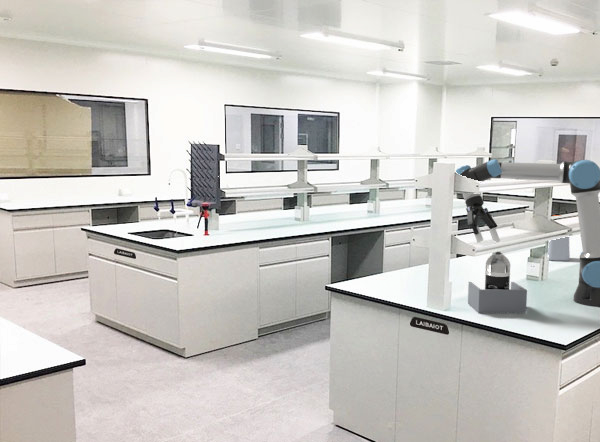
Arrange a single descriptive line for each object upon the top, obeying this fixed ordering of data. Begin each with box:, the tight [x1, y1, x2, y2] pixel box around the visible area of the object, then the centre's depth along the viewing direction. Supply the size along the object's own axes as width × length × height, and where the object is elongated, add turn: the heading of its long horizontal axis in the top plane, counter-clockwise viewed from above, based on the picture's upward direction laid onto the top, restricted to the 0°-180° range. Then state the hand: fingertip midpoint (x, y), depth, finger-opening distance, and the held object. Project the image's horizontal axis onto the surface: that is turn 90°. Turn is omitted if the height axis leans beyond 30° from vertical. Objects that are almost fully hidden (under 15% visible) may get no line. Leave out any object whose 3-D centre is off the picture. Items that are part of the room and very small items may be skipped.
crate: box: [467, 281, 528, 314], centre depth 244 cm, size 20×16×10 cm
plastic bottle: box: [548, 214, 571, 262], centre depth 358 cm, size 15×15×28 cm
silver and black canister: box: [484, 251, 511, 289], centre depth 243 cm, size 10×10×25 cm
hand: (488, 241), depth 248 cm, fingers open, 13 cm apart
